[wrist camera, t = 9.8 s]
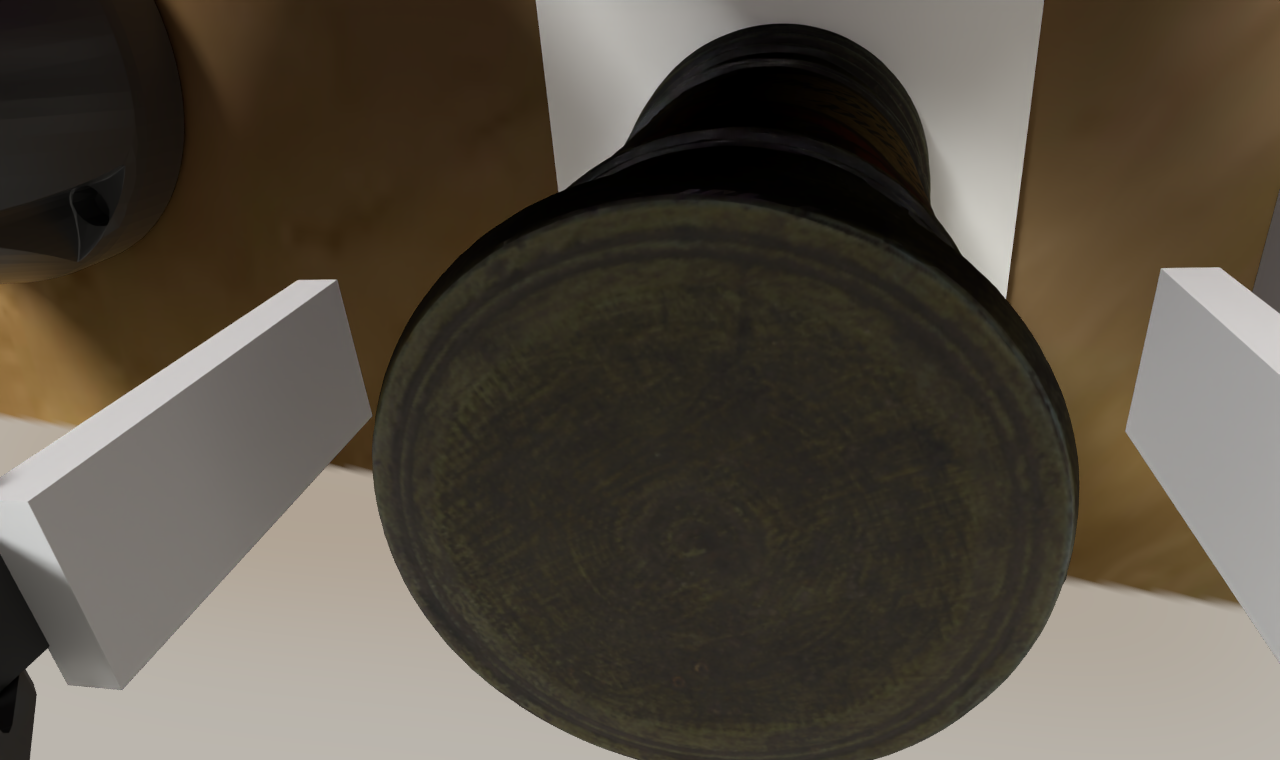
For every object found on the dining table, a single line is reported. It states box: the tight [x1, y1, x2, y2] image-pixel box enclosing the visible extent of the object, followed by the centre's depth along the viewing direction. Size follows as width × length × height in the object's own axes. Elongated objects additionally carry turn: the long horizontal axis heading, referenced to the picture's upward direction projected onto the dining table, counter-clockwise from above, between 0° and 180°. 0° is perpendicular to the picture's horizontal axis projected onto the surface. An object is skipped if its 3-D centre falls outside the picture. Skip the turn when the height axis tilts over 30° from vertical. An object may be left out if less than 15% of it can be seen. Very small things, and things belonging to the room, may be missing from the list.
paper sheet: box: [536, 0, 1044, 299], centre depth 26 cm, size 14×14×1 cm
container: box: [372, 24, 1079, 760], centre depth 17 cm, size 9×9×18 cm
